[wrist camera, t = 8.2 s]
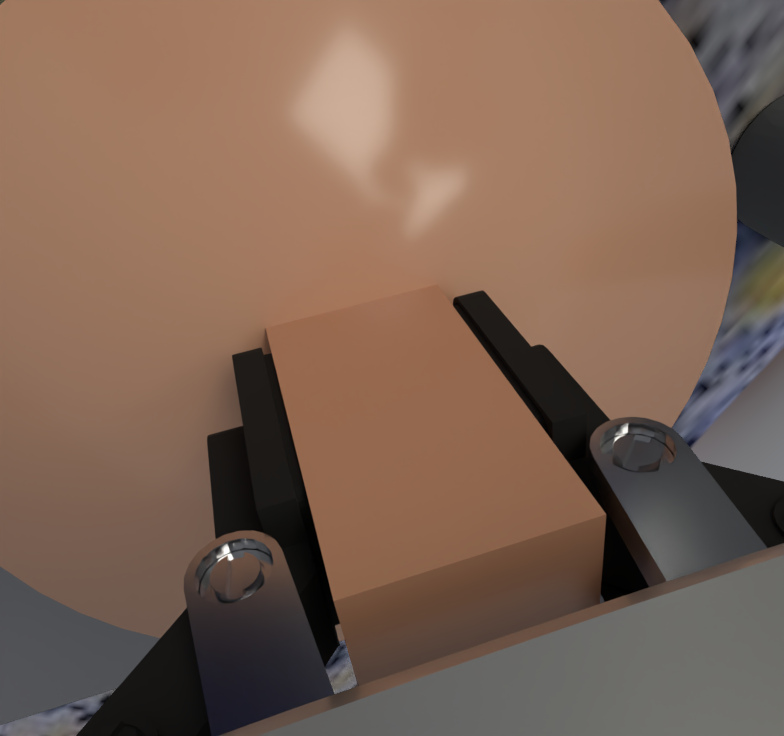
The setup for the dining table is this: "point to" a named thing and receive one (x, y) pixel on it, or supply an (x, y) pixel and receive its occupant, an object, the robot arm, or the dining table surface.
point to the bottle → (762, 173)
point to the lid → (344, 287)
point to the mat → (57, 652)
